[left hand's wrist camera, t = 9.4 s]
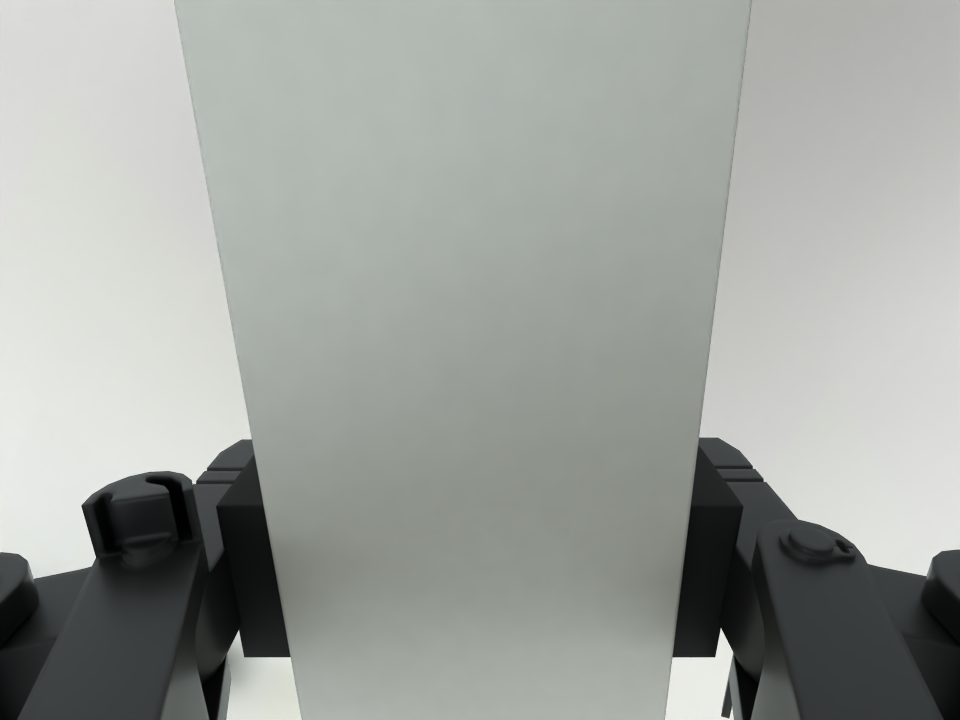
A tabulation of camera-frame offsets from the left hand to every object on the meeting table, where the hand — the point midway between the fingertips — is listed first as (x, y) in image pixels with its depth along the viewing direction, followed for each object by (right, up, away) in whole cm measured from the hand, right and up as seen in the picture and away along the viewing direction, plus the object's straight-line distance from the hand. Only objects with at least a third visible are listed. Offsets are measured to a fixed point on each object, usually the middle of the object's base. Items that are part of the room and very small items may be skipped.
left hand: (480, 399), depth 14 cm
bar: (-1, +23, -8) cm, 24 cm away
